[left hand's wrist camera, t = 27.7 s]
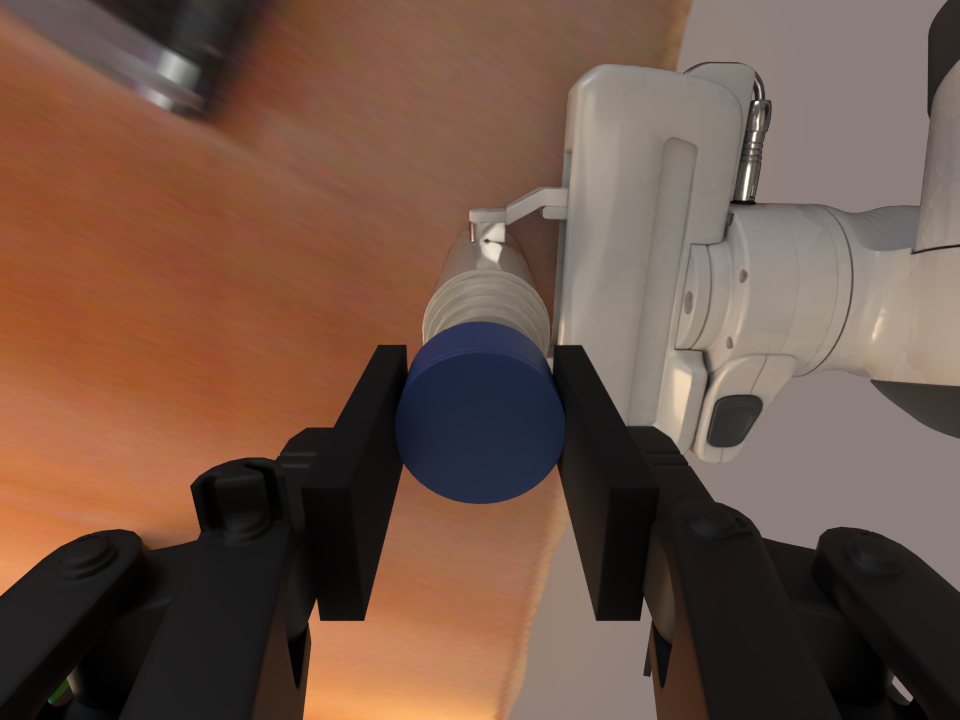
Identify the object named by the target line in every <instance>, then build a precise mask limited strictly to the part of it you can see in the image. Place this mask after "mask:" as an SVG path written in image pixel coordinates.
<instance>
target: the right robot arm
mask: <svg viewBox="0 0 960 720" xmlns="http://www.w3.org/2000/svg"><path fill="white" fill-rule="evenodd" d="M753 89H754V93H755V100H753V101H751V97H752V92H753ZM771 110H772V106H771V101H770V100H765V91H764V85H763V82H762V80H761V78H760V77H759V75H758V74H757V72H756V71H755V70H754V69H753V68H751V67H749V66H748V65H745V64H742V63H738V62H704V63H700V64H697V65H695V66H693V67H691V68H689V69H688V70H687V71H686V72H684V73H679V72H674V71H668V70H662V69H656V68H650V67H642V66H632V65H620V64H602V65H598V66H595V67H593V68H591V69H590V70H589V71H587V72H586V73H585V74H583V75H582V76H581V77H580V78H579V79H578V81H577V82H576V83H575V84H574V85H573V86H572V87H571V89H570V91H569V94H568V102H567V115H566V130H565V144H564V159H563V173H562V187H538V188H536V189H534V190H532V191H531V192H529V193H527V194H525V195H524V196H522V197H520V198H518V199H517V200H515V201H513V202H512V203H510V204H508V205H506V206H505V209H496V208H474V209H470V210H469V241H471V242H483V241H485V240H486V239H488V240H489V241H490V242H505V231H506V225H509V224H511V223H513V222H514V221H516V220H518V219H520V218H522V217H524V216H525V215H527V214H529V213H531V212H533V211H534V210H536V209H538V208H539V209H538V212H539V214H540V215H541V216H542V217H543V218H544V219H559V231H558V245H557V260H556V274H555V289H554V303H553V317H552V332H551V345H549V349H548V353H547V356H546V359H547V362H548V364H549V366H550V369H551V372H552V374H553V356H554V345H582V346H583V348H584V350H585V352H586V353H587V355H588V357H589V359H590V361H591V363H592V364H593V366H594V368H595V370H596V372H597V374H598V375H599V377H600V379H601V381H602V383H603V385H604V386H605V388H606V390H607V392H608V394H609V396H610V397H611V399H612V401H613V403H614V405H615V407H616V409H617V410H618V412H619V414H620V416H621V418H622V420H623V421H624V423H625V425H626V426H654V427H656V428H657V429H659V430H660V431H662V432H663V433H665V434H666V435H668V436H669V437H671V438H672V440H673V441H674V443H675V444H676V446H677V447H678V449H679V450H680V453H681V454H682V455H683V456H684V455H685V454H686V453H687V451H688V450H689V449H690V450H691V451H692V452H693V453H694V454H695V455H696V456H697V457H698V458H699V459H700V460H701V461H703V462H705V463H711V464H725V463H729V462H731V461H733V460H734V459H735V458H736V457H737V456H738V455H739V454H740V452H741V451H742V449H743V448H744V446H745V444H746V443H747V441H748V439H749V437H750V436H751V434H752V433H753V431H754V429H755V428H756V426H757V424H758V423H759V421H760V420H761V418H762V417H763V415H764V414H765V412H766V411H767V409H768V408H769V406H770V405H771V404H772V402H773V401H774V399H775V398H776V397H777V395H778V394H779V393H780V391H781V390H782V389H783V388H784V387H785V385H786V384H787V383H788V382H789V380H790V379H791V378H792V377H802V376H807V375H811V374H815V373H820V372H824V371H831V370H839V371H845V372H848V373H851V374H854V375H857V376H861V377H866V378H872V379H871V380H870V381H871V383H872V384H873V385H874V386H875V387H876V388H877V389H878V390H879V391H880V392H881V393H882V394H883V395H884V396H886V397H887V398H888V399H889V400H891V401H892V402H893V403H895V404H896V405H897V406H899V407H900V408H901V409H903V410H904V411H905V412H907V413H908V414H910V415H911V416H912V417H913V418H915V419H916V420H917V421H919V422H920V423H922V424H924V425H926V426H928V427H930V428H932V429H934V430H936V431H939V432H941V433H944V434H947V435H950V436H953V437H956V438H960V0H948V1H947V2H946V3H945V4H944V5H943V7H942V8H941V9H940V11H939V12H938V13H937V15H936V17H935V18H934V20H933V22H932V24H931V27H930V29H929V35H928V115H929V118H930V125H929V134H928V142H927V151H926V160H925V168H924V177H923V186H922V194H921V203H920V206H887V207H881V208H877V209H874V210H870V211H866V212H863V213H849V212H844V211H841V210H839V209H836V208H832V207H829V206H825V205H818V204H774V203H756V202H754V201H755V195H756V190H757V185H758V180H759V175H760V169H761V160H762V156H761V155H762V150H761V149H762V148H763V142H764V138H765V133H766V132H767V131H768V128H769V124H770V119H771Z"/></svg>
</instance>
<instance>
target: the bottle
mask: <svg viewBox="0 0 960 720" xmlns="http://www.w3.org/2000/svg"><path fill="white" fill-rule="evenodd" d="M479 321H484V322H493V323H498V324H502V325H505V326H508V327H511V328H513V329H515V330H517V331H519V332H521V333H522V334H524V335H525V336H526V337H528V338H529V339H530V340H531V341H533V342H534V343H535V344H536V345H537V347H538V348H539V349H540V350H541V351H542V353H543V354H544V356H545V358H546V356H547V353H548V349H549V342H550V322H549V316H548V313H547V310H546V307H545V305H544V302H543V300H542V297H541V295H540V293H539V290H538V288H537V285H536V283H535V281H534V278H533V276H532V274H531V271H530V269H529V266H528V264H527V262H526V259H525V257H524V254H523V252H522V250H521V248H520V245H519V244H518V242H517V241H516V239H515V238H514V237H513V236H512V235H511V234H510V233H508V232H507V231H505V242H490V241H489V240H488V239H486V240H485V241H483V242H471V241H469V229H467V230H465V231H464V232H463V233H461V234H460V235H459V236H458V237H457V238H456V239H455V240H454V242H453V244H452V245H451V247H450V250H449V252H448V255H447V257H446V260H445V262H444V265H443V267H442V270H441V272H440V275H439V278H438V280H437V283H436V285H435V288H434V290H433V293H432V295H431V298H430V301H429V303H428V306H427V308H426V311H425V315H424V319H423V332H422V333H423V345H425V344H426V342H427V341H429V340H430V339H431V338H432V337H434V336H435V335H436V334H438V333H440V332H441V331H443V330H445V329H447V328H450V327H452V326H455V325H458V324H462V323H467V322H479Z"/></svg>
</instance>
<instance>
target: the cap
mask: <svg viewBox="0 0 960 720" xmlns="http://www.w3.org/2000/svg"><path fill="white" fill-rule="evenodd" d="M395 430H396V444H397V450H398V452H399V455H400V457H401V459H402V461H403V462H404V464H405V466H406V467H407V469H408V470H409V471H410V473H411V474H412V475H413V476H414V477H415V478H416V479H417V480H418V481H419V482H420V483H421V484H423V485H424V486H425V487H427V488H428V489H430V490H431V491H433V492H435V493H437V494H439V495H441V496H443V497H446V498H448V499H452V500H455V501H459V502H464V503H473V504H488V503H496V502H501V501H505V500H509V499H512V498H514V497H517V496H519V495H521V494H523V493H525V492H527V491H529V490H530V489H532V488H533V487H535V486H536V485H537V484H539V483H540V482H541V481H542V480H543V479H544V478H545V477H546V476H547V475H548V474H549V473H550V472H551V470H552V469H553V467H554V466H555V464H556V463H557V461H558V459H559V457H560V455H561V453H562V450H563V447H564V436H565V412H564V408H563V405H562V402H561V399H560V396H559V393H558V390H557V387H556V384H555V381H554V378H553V375H552V372H551V369H550V366H549V364H548V362H547V359H546V358H545V356H544V354H543V353H542V351H541V350H540V349H539V348H538V347H537V345H536V344H535V343H534V342H533V341H531V340H530V339H529V338H528V337H526V336H525V335H524V334H522V333H521V332H519V331H517V330H515V329H513V328H511V327H508V326H505V325H502V324H498V323H493V322H484V321H479V322H467V323H462V324H458V325H455V326H452V327H450V328H447V329H445V330H443V331H441V332H440V333H438V334H436V335H435V336H434V337H432V338H431V339H430V340H429V341H427V342H426V344H425V345H424V346H423V347H422V348H421V349H420V350H419V352H418V353H417V355H416V356H415V358H414V360H413V362H412V364H411V367H410V369H409V372H408V375H407V378H406V381H405V384H404V387H403V390H402V393H401V396H400V399H399V402H398V405H397V408H396V412H395Z"/></svg>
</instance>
